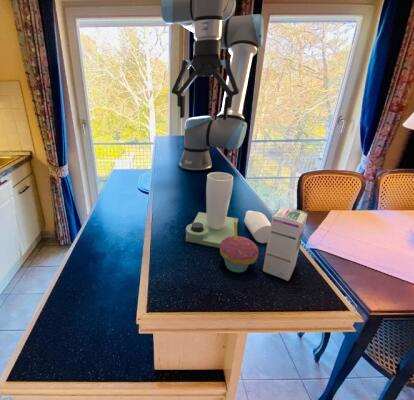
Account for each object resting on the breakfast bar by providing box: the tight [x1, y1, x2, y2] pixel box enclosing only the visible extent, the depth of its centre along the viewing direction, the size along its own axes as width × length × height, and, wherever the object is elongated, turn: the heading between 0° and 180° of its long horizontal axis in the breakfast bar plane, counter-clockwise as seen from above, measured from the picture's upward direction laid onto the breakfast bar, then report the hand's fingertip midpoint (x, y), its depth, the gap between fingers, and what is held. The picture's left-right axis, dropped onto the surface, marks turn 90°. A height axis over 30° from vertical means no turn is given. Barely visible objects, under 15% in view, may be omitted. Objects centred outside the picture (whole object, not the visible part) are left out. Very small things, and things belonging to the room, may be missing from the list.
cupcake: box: [219, 217, 259, 273], centre depth 59 cm, size 9×8×12 cm
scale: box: [184, 211, 239, 249], centre depth 74 cm, size 15×12×3 cm
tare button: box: [191, 222, 203, 232], centre depth 71 cm, size 3×3×2 cm
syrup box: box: [262, 205, 308, 282], centre depth 57 cm, size 6×6×14 cm
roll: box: [243, 210, 271, 244], centre depth 74 cm, size 6×12×6 cm, turn 2°
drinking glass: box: [205, 171, 234, 230], centre depth 72 cm, size 7×7×15 cm
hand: (203, 118), depth 83 cm, fingers open, 13 cm apart
